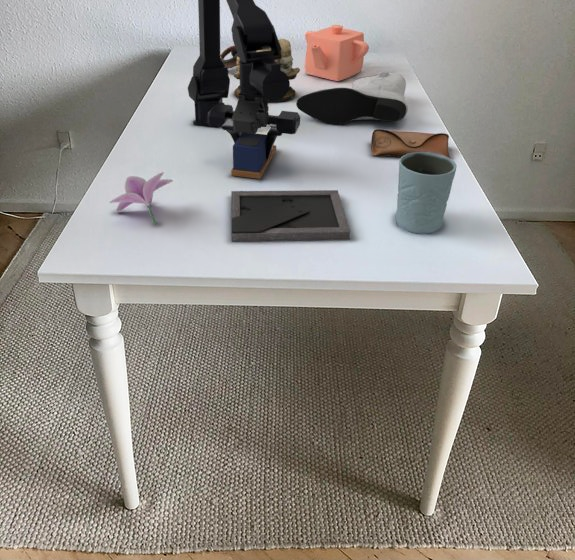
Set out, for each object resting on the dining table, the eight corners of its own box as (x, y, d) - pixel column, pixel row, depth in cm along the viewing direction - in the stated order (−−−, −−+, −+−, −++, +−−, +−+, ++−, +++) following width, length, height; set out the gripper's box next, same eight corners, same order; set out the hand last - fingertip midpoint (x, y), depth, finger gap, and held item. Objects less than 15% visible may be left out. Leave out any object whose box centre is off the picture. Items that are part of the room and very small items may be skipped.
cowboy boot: (410, 100, 148) (413, 71, 168) (298, 80, 150) (314, 53, 170) (401, 138, 153) (406, 104, 173) (293, 118, 156) (310, 87, 176)
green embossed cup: (409, 239, 111) (419, 179, 104) (380, 213, 119) (388, 155, 112) (456, 229, 115) (468, 169, 108) (425, 204, 122) (435, 147, 115)
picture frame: (231, 241, 109) (349, 239, 111) (231, 231, 108) (350, 229, 109) (231, 198, 122) (337, 197, 124) (231, 189, 121) (337, 188, 122)
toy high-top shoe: (260, 179, 129) (260, 149, 125) (231, 175, 130) (230, 145, 126) (276, 150, 141) (276, 122, 137) (249, 147, 142) (249, 119, 138)
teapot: (317, 61, 199) (319, 15, 191) (377, 75, 189) (382, 27, 181) (280, 75, 186) (281, 27, 178) (343, 91, 176) (347, 40, 168)
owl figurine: (298, 89, 177) (300, 26, 167) (299, 103, 167) (302, 37, 157) (234, 87, 176) (233, 24, 166) (233, 102, 166) (231, 36, 156)
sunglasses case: (372, 155, 139) (374, 125, 139) (369, 159, 146) (371, 130, 146) (453, 160, 138) (455, 129, 138) (446, 163, 145) (448, 134, 145)
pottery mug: (257, 76, 186) (245, 54, 180) (229, 89, 189) (216, 67, 183) (254, 55, 194) (242, 32, 188) (227, 67, 196) (215, 46, 190)
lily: (185, 208, 120) (165, 161, 118) (183, 215, 109) (161, 163, 106) (127, 231, 120) (106, 185, 117) (119, 241, 108) (96, 189, 106)
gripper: (196, 93, 120) (200, 167, 129) (290, 103, 117) (288, 178, 126) (214, 76, 129) (217, 146, 138) (302, 84, 126) (299, 156, 135)
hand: (254, 156), depth 134 cm, fingers closed on toy high-top shoe, 5 cm apart
